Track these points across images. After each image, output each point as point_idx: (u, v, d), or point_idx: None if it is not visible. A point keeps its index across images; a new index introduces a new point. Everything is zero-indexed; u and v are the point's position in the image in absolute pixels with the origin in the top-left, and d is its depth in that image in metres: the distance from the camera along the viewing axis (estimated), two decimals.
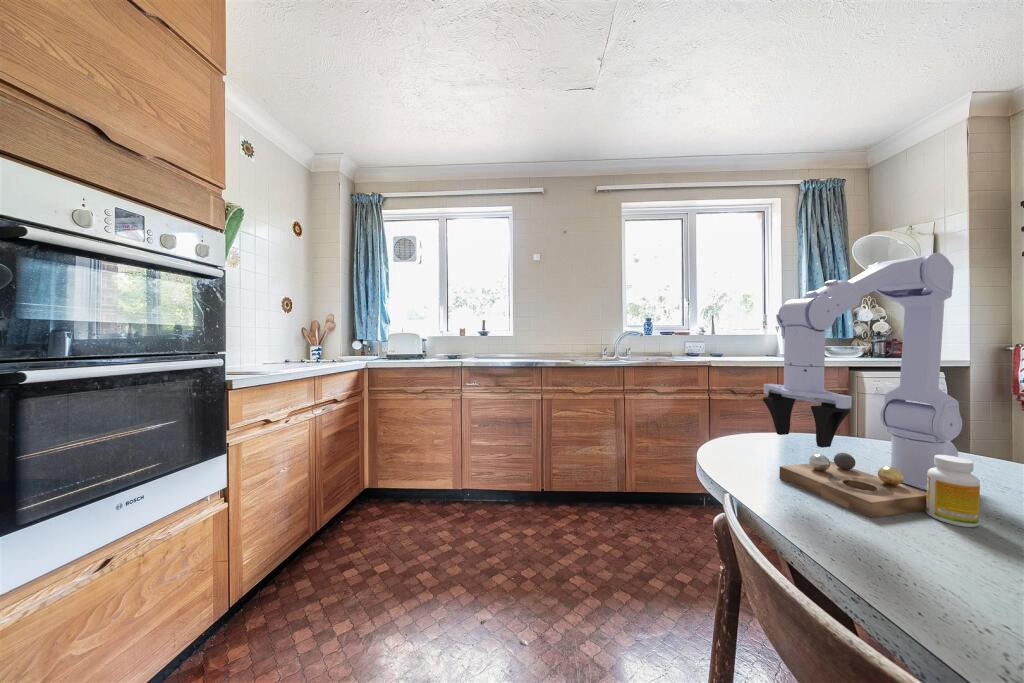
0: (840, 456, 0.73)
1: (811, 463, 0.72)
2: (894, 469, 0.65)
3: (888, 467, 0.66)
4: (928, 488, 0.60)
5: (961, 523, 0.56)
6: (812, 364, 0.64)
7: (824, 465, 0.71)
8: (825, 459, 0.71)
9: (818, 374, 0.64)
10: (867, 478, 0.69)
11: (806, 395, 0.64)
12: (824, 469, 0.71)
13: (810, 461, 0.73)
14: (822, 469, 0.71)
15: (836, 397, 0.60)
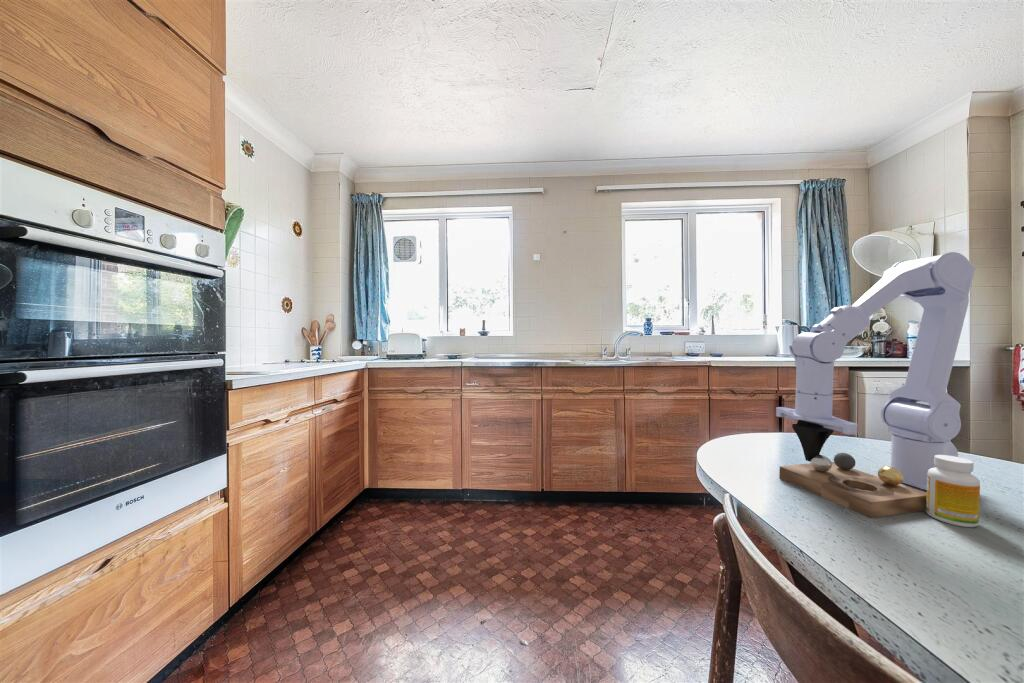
0: (840, 456, 0.73)
1: (812, 464, 0.72)
2: (894, 469, 0.65)
3: (888, 467, 0.66)
4: (928, 488, 0.60)
5: (961, 523, 0.56)
6: (817, 392, 0.71)
7: (825, 467, 0.71)
8: (827, 461, 0.71)
9: (827, 402, 0.71)
10: (867, 478, 0.69)
11: (816, 421, 0.71)
12: (825, 471, 0.71)
13: (812, 462, 0.72)
14: (822, 471, 0.71)
15: (843, 424, 0.67)
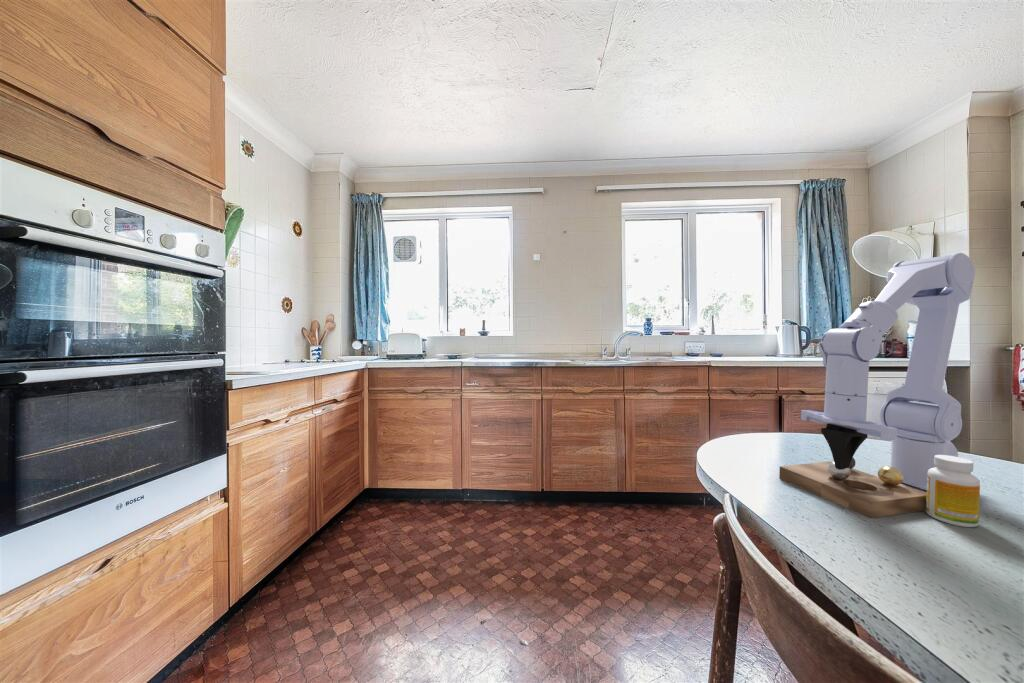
0: None
1: (830, 467, 0.69)
2: (894, 469, 0.65)
3: (888, 467, 0.66)
4: (928, 488, 0.60)
5: (961, 523, 0.56)
6: (857, 394, 0.65)
7: None
8: None
9: (862, 404, 0.64)
10: (867, 478, 0.69)
11: (849, 424, 0.64)
12: None
13: (832, 468, 0.68)
14: None
15: (881, 428, 0.61)
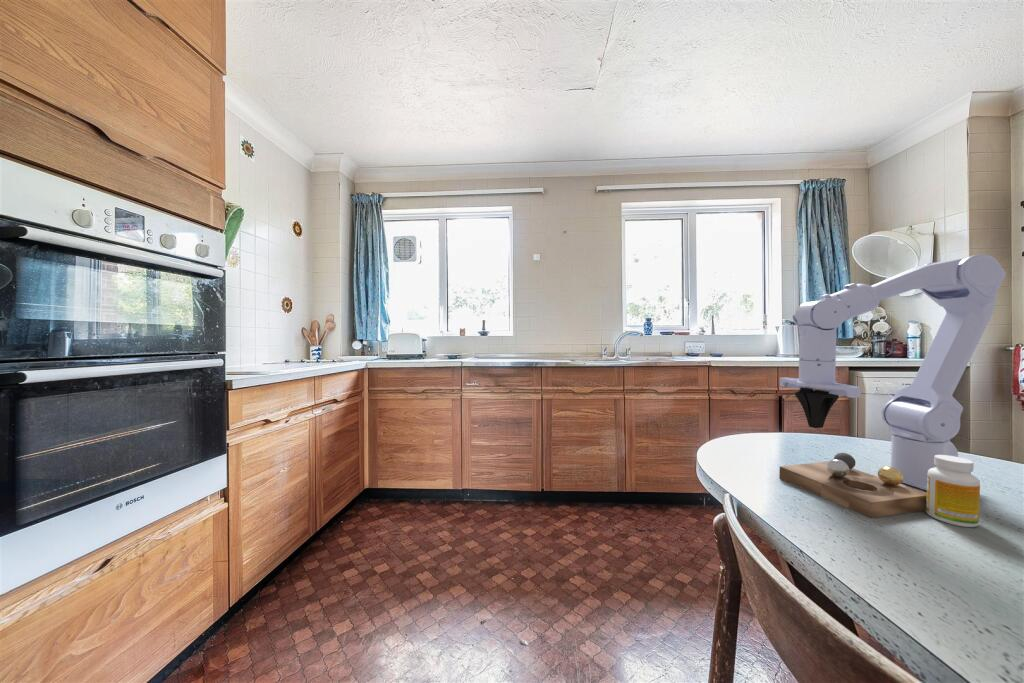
0: (840, 456, 0.73)
1: (831, 465, 0.69)
2: (894, 469, 0.65)
3: (888, 467, 0.66)
4: (928, 488, 0.60)
5: (961, 523, 0.56)
6: (819, 359, 0.72)
7: None
8: None
9: (831, 368, 0.72)
10: (867, 478, 0.69)
11: (820, 386, 0.72)
12: None
13: (834, 465, 0.69)
14: (827, 469, 0.70)
15: (847, 388, 0.68)
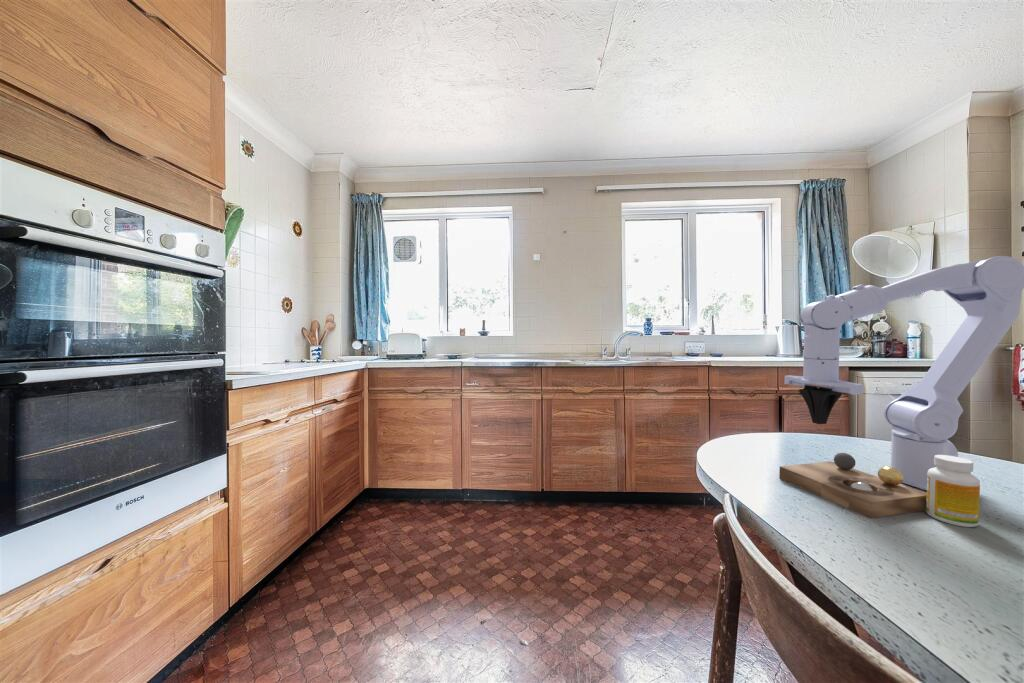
0: (840, 456, 0.73)
1: None
2: (894, 469, 0.65)
3: (888, 467, 0.66)
4: (928, 488, 0.60)
5: (961, 523, 0.56)
6: (819, 357, 0.75)
7: None
8: (853, 484, 0.66)
9: (834, 366, 0.75)
10: (867, 478, 0.69)
11: (823, 384, 0.74)
12: None
13: None
14: None
15: (850, 385, 0.71)
